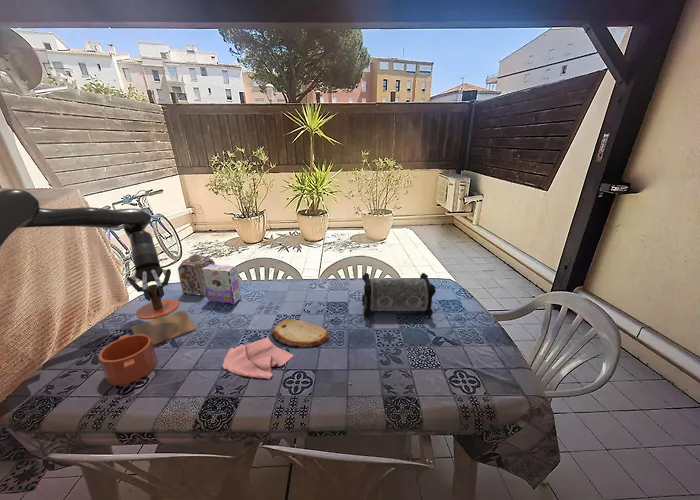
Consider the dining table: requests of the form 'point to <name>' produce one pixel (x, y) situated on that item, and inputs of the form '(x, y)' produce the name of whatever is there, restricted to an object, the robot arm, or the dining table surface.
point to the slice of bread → (299, 333)
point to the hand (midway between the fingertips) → (155, 298)
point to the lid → (156, 305)
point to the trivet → (165, 327)
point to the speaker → (398, 295)
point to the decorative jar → (193, 274)
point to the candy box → (221, 283)
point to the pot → (128, 359)
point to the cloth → (255, 359)
